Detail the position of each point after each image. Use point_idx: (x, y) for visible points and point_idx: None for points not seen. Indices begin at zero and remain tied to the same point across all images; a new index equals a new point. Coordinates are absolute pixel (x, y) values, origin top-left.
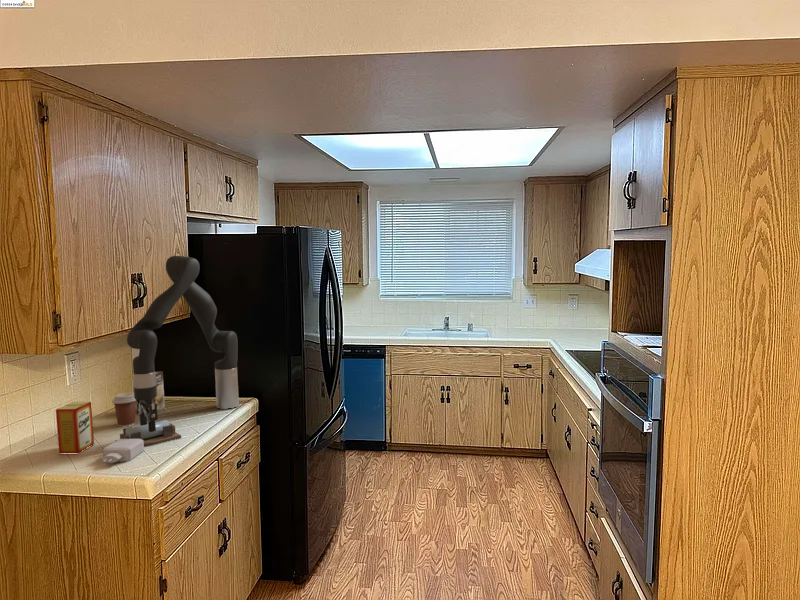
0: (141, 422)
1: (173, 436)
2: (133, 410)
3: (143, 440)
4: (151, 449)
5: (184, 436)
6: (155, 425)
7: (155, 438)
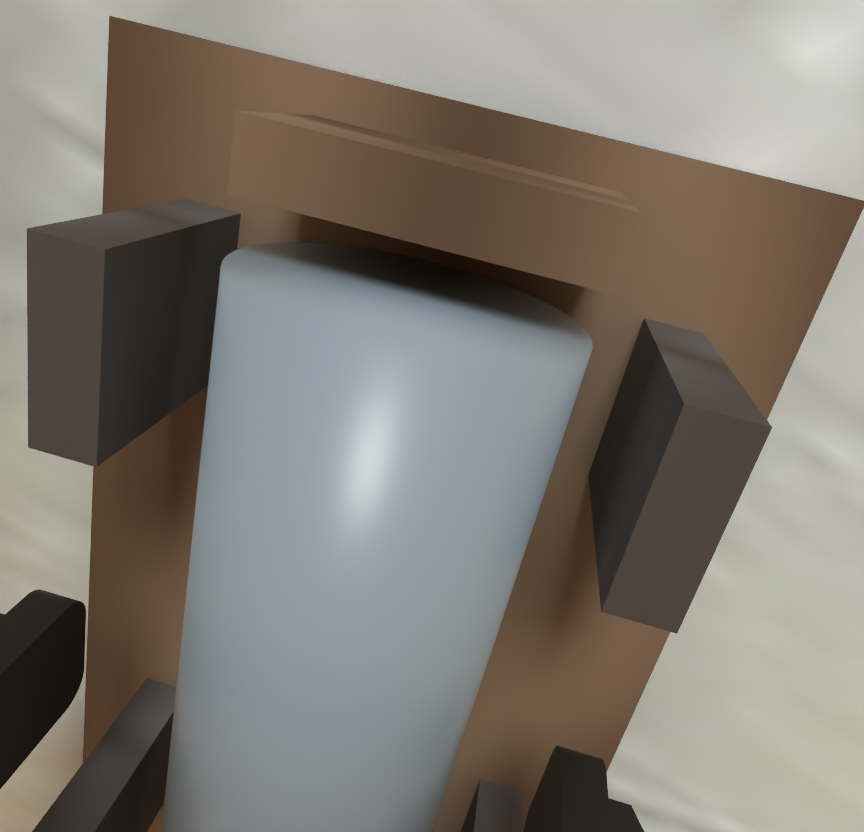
0: (9, 759)
1: (742, 341)
2: None
3: None
4: (786, 786)
5: (813, 70)
6: (422, 697)
7: None
